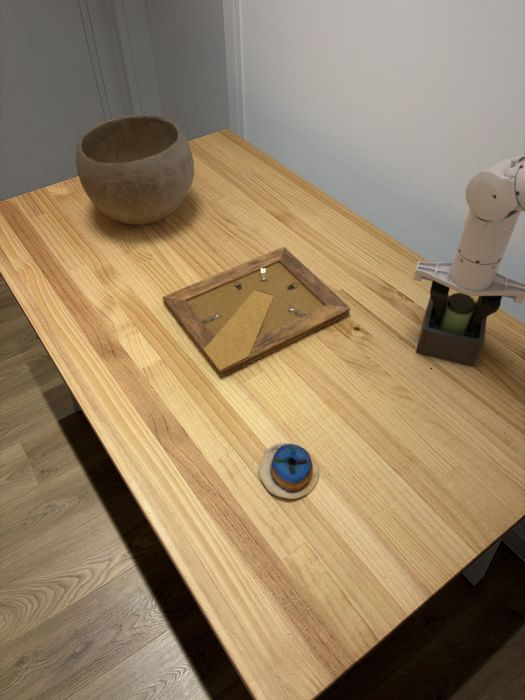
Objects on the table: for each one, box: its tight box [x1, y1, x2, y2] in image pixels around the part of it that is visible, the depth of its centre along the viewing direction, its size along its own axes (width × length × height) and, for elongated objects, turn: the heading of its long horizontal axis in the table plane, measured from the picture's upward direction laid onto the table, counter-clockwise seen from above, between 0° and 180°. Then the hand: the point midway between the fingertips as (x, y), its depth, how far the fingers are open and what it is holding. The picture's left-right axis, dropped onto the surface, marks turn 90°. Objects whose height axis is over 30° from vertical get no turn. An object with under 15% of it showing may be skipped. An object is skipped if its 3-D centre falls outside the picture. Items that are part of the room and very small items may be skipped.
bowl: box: [75, 114, 195, 226], centre depth 102 cm, size 21×21×15 cm
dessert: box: [258, 442, 320, 500], centre depth 69 cm, size 8×7×6 cm
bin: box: [415, 294, 488, 367], centre depth 82 cm, size 8×8×5 cm
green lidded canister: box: [438, 292, 475, 335], centre depth 80 cm, size 4×4×6 cm
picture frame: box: [162, 246, 351, 378], centre depth 88 cm, size 19×2×24 cm
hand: (453, 324), depth 82 cm, fingers closed on green lidded canister, 4 cm apart
